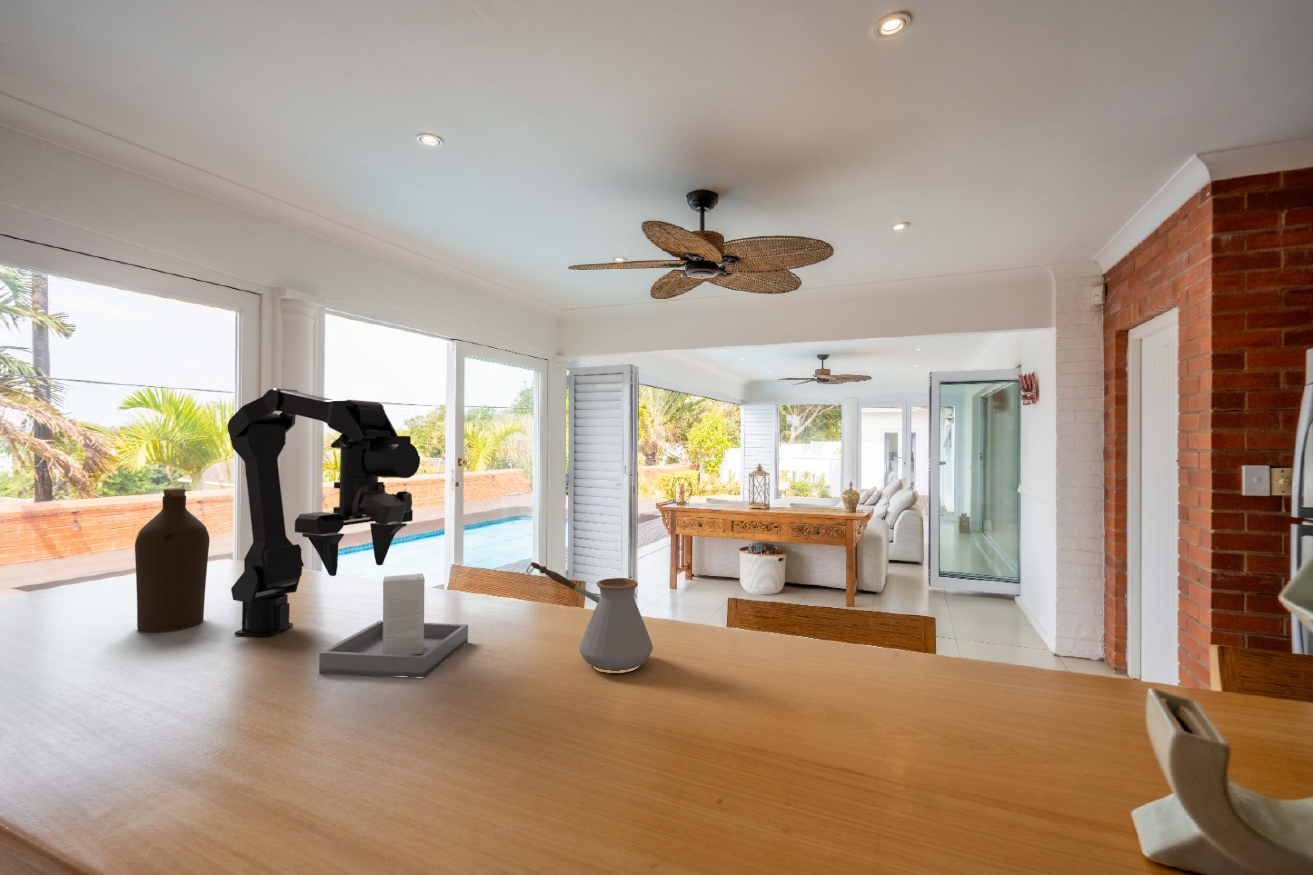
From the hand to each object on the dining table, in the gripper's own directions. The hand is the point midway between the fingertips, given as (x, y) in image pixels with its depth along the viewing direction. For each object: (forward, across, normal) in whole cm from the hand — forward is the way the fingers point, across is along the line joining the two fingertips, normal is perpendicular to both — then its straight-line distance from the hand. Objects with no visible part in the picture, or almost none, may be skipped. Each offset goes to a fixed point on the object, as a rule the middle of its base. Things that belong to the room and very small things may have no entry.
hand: (357, 570), depth 98 cm
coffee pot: (+13, +11, -38) cm, 41 cm away
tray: (+13, 0, -9) cm, 16 cm away
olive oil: (+13, -5, +40) cm, 43 cm away
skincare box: (+12, 0, -10) cm, 16 cm away
